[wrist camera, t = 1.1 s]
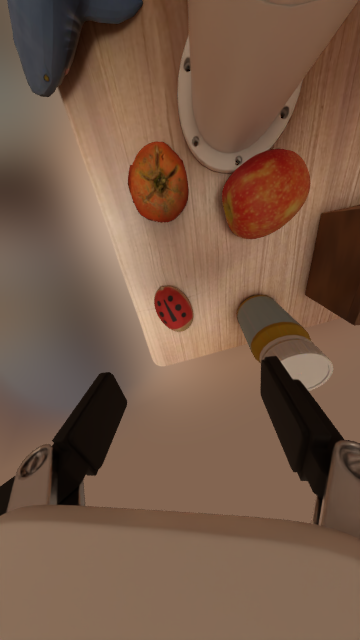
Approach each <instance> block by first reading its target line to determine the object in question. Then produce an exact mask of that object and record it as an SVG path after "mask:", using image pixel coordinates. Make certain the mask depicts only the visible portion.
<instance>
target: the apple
mask: <svg viewBox="0 0 360 640" xmlns="http://www.w3.org/2000/svg"><path fill="white" fill-rule="evenodd" d="M309 189H310V176H309V172H308V169H307V167H306V164H305V162H304V161H303V159H302V158H301V157H300V156H299V155H298V154H296V153H295V152H293V151H290V150H285V149H271V150H267V151H264V152H262V153H259V154H257V155H255V156H253V157H252V158H250V159H249V160H247V161H246V162H244V163H243V164H242V165H241V166H239V167H238V168H237V169H236V170H235V171H234V172H233V173H232V174H231V176H230V177H229V178H228V180H227V181H226V183H225V185H224V188H223V191H222V203H223V207H224V211H225V215H226V219H227V223H228V226H229V228H230V229H231V231H232V232H233V233H234V234H235V235H237V236H239V237H242V238H245V239H256V238H260V237H263V236H266V235H269V234H271V233H273V232H275V231H276V230H278V229H280V228H281V227H282V226H284V225H285V224H286V223H287V222H288V221H290V220H291V219H292V218H293V217H294V216H295V215H296V213H297V212H298V211H299V210H300V208H301V207H302V206H303V204H304V202H305V201H306V198H307V196H308V193H309Z"/></svg>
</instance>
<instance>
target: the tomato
mask: <svg viewBox="0 0 360 640" xmlns="http://www.w3.org/2000/svg"><path fill="white" fill-rule="evenodd" d="M128 185H129V190H130V194H131V195H132V199H133V203H135V206H136V208H137V210H138V212H139V213H140V214H141V215H142V216H144V217H145V218H147V219H148V220H151V221H155V222H156V221H157V222H161V223H162V222H170V221H172V220H174V219H175V218H176V217H177V216H178V215H179V214H180V213H181V212H182V211H183V209H184V207H185V206H186V203H187V200H188V181H187V176H186V171H185V167H184V164H183V161H182V160H181V159H180V158H179V156H178V155H177V154H176V153H175V152H174V151H173V150H172V149H171V147H170V146H168V145H167V144H166V143H164V142H152V143H149V144H148V145H146V146H144V147H143V148H142V149H141V150H140V151H139V153H138V154H137V156H136V158H135V160H134V162H133V165H130V169H129V175H128Z"/></svg>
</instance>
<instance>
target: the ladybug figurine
mask: <svg viewBox="0 0 360 640" xmlns="http://www.w3.org/2000/svg"><path fill="white" fill-rule="evenodd" d="M154 304H155V309H156V312H157V314H158V316H159V318H160V319H161V321H162V322H163V323H164V324H165V325H166V326H167V327H168V328H170V329H172V330H174V331H177V332H181V331H184V330H186V329H188V328H189V327H190V325H191V323H192V321H193V310H192V306H191V304H190V302H189V300H188V299H187V297H186V296H185V295H184V294H183V293H182V292H181V291H180V290H178V289H177V288H175V287H171V286H161V287H160V289H159V290H158V291H157V292H156V294H155V299H154Z"/></svg>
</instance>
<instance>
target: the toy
mask: <svg viewBox="0 0 360 640" xmlns="http://www.w3.org/2000/svg"><path fill="white" fill-rule="evenodd" d="M7 1H8V8H9V13H10V19H11V24H12V30H13V39H14V43H15V46H16V48H17V51H18V54H19V57H20V60H21V64H22V67H23V71H24V74H25V76H26V79H27V82H28V84H29V86H30V88H31V90H32V92H34V93H35V94H37V95H40V96H43V97H49V96H50V95H51V94H53V93H54V92H55V90H56V87H58V86H60V85H61V84H62V82H63V79H64V77H65V75H66V74H68V73H69V70H70V66H71V65H72V63H73V59H74V56H75V52H76V48H77V44H78V40H79V36H80V32H81V28H82V26H83V24H84V22H85V21H95V22H99V23H112V24H119V23H121V22H123V21H125V20H127V19H129V18H131V17H133V16H134V15H135V14H136V13H137V12H138V10H139V9H140V8H141V7H142V4H143V1H142V0H7Z"/></svg>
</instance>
